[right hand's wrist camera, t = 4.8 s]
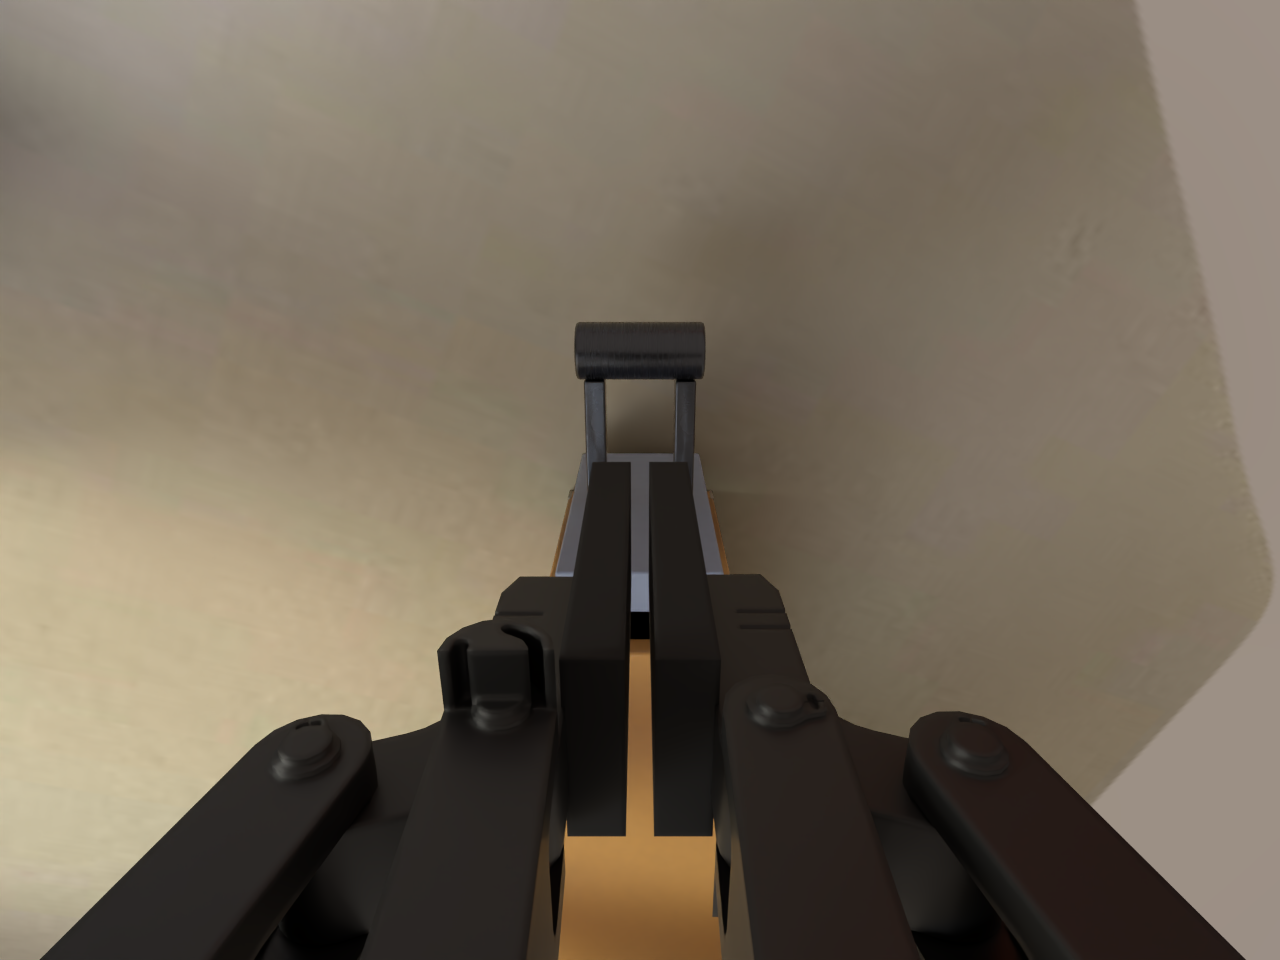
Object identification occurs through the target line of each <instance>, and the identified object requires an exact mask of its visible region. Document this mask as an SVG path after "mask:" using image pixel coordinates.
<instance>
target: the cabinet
mask: <svg viewBox="0 0 1280 960" xmlns="http://www.w3.org/2000/svg"><path fill="white" fill-rule="evenodd" d="M573 494H574V491H573V490H570V492H569V496H568V504H567V508H566V512H565V516H564V520H563V524H562V529H561V533H560V537H559V541H558V545H557V549H556V553H555V558H554V562H553V566H552V570H551V574H550V577H555V572H556V568H557V564H558V559H559V555H560V550H561V546H562V542H563V537H564V533H565V529H566V524H567V520H568V516H569V511H570V507H571V503H572V498H573ZM707 495H708V500H709V505H710V509H711V514H712V519H713V524H714V529H715V534H716V539H717V543H718V548H719V553H720V558H721V563H722V568H723V573H724V574H730V573H729V568H728V563H727V559H726V554H725V550H724V545H723V541H722V536H721V532H720V527H719V523H718V518H717V514H716V509H715V505H714V497H713V493H712V491H707ZM564 853H565V885H564V897H563V909H562V921H561V933H560V945H559V957H558V960H722V956H721V944H720V932H719V920H718V917H712V912H713V892H714V873H715V853H716V834H715V825H714V818H713V837H654V813H653V766H652V720H651V673H650V639H630V674H629V720H628V767H627V814H626V837H567V821H566V829H565V838H564Z"/></svg>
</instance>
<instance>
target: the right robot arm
mask: <svg viewBox="0 0 1280 960" xmlns="http://www.w3.org/2000/svg"><path fill="white" fill-rule="evenodd" d="M649 626H650V673H651V720H652V766H653V813H654V837H713V818H714V825H715V834H716V853H715V873H714V892H713V912H712V917H718V920H719V932H720V944H721V956H722V960H1246V959H1245V958H1244V957H1242V955H1240V953H1238V952H1237V951H1236V950H1235V949H1234V948H1233V947H1232V946H1231V945H1230V944H1229V943H1228V942H1227V941H1226V940H1225V939H1224V938H1223V937H1222V936H1221V935H1220V934H1219V933H1218V932H1217V931H1216V930H1215V929H1214V928H1213V927H1212V926H1211V925H1210V924H1209V923H1208V922H1207V921H1206V920H1205V919H1204V918H1203V917H1202V916H1201V915H1200V914H1199V913H1198V912H1197V911H1196V910H1195V909H1194V908H1193V907H1192V906H1191V905H1190V904H1189V903H1188V902H1187V901H1186V900H1185V899H1184V898H1183V897H1182V896H1181V895H1180V894H1179V893H1178V892H1177V891H1176V890H1175V889H1174V888H1173V887H1172V886H1171V885H1170V884H1169V883H1168V882H1167V881H1166V880H1165V879H1164V878H1163V877H1162V876H1161V875H1160V874H1159V873H1158V872H1157V871H1156V870H1155V869H1154V868H1153V867H1152V866H1151V865H1150V864H1149V863H1148V862H1147V861H1146V860H1145V859H1144V858H1143V857H1142V856H1141V855H1140V854H1139V853H1138V852H1137V851H1136V850H1135V849H1134V848H1133V847H1132V846H1130V845H1129V844H1128V843H1127V842H1126V841H1125V840H1124V839H1123V838H1122V837H1121V836H1120V835H1119V834H1118V833H1117V832H1116V831H1115V830H1114V829H1113V828H1112V827H1111V826H1110V825H1109V824H1108V823H1107V822H1106V821H1105V820H1104V819H1103V818H1102V817H1101V816H1100V815H1099V814H1098V813H1097V812H1096V811H1095V810H1094V809H1093V808H1092V807H1091V806H1090V805H1089V804H1088V803H1087V802H1086V801H1085V800H1084V799H1083V798H1082V797H1081V796H1080V795H1079V794H1078V793H1077V792H1076V791H1075V790H1074V789H1073V788H1072V787H1071V786H1070V785H1069V784H1068V783H1067V782H1066V781H1065V780H1064V779H1063V778H1062V777H1061V776H1060V775H1059V774H1058V773H1057V772H1056V771H1055V770H1054V769H1053V768H1052V767H1051V766H1050V765H1049V764H1048V763H1047V762H1046V761H1045V760H1044V759H1043V758H1042V757H1041V756H1040V755H1039V754H1038V753H1037V752H1036V751H1035V750H1034V749H1033V748H1032V747H1031V746H1030V745H1029V744H1028V743H1027V742H1025V741H1024V740H1023V739H1021V738H1020V737H1019V736H1018V735H1016V734H1015V733H1014V732H1012V731H1011V730H1010V729H1008V728H1007V727H1005V726H1003V725H1001V724H998V723H996V722H994V721H992V720H989V719H987V718H985V717H982V716H978V715H973V714H969V713H964V712H960V711H950V712H935V713H932V714H929V715H926V716H924V717H921V718H920V719H919V720H918V721H917V722H916V723H915V724H914V725H913V726H912V727H911V728H910V733H909V739H908V738H904V737H900V736H895V735H891V734H886V733H882V732H877V731H873V730H870V729H867V728H863V727H860V726H857V725H854V724H852V723H850V722H848V721H846V720H844V719H842V718H840V717H838V715H837V712H836V709H835V708H834V706H833V704H832V703H831V701H830V700H829V698H828V697H827V695H825V694H824V693H823V692H821V691H820V690H819V689H817V688H816V687H814V686H813V685H812V684H810V681H809V678H808V676H807V673H806V670H805V667H804V664H803V661H802V658H801V655H800V652H799V649H798V646H797V643H796V640H795V637H794V635H793V632H792V629H790V623H789V620H788V617H787V614H786V613H785V608H784V605H783V602H782V599H781V596H780V593H779V591H778V590H777V589H776V588H775V587H774V586H773V585H772V584H770V583H769V582H768V581H767V580H766V579H765V578H764V577H763V576H761V575H760V574H706V568H705V562H704V556H703V550H702V544H701V538H700V533H699V527H698V521H697V515H696V509H695V503H694V497H693V492H692V486H691V480H690V474H689V468H688V462H649ZM630 627H631V462H592V468H591V474H590V480H589V486H588V492H587V498H586V503H585V509H584V515H583V521H582V527H581V533H580V539H579V544H578V550H577V556H576V562H575V568H574V574H573V577H519V578H518V579H517V580H516V581H514V582H513V583H512V584H511V585H510V586H509V587H508V588H507V589H506V590H504V591H503V592H502V593H501V596H500V599H499V602H498V605H497V608H496V611H495V616H494V617H493V620H487V621H481V622H478V623H476V624H473V625H470V626H467V627H464V628H462V629H460V630H459V631H457V632H455V633H454V634H452V635H451V636H449V637H448V638H446V640H445V641H444V642H443V644H442V645H441V646H440V648H439V649H438V651H437V654H438V662H439V671H440V679H441V687H442V695H443V704H444V713H443V716H442V719H441V720H440V721H438V722H436V723H434V724H432V725H430V726H428V727H426V728H423V729H420V730H417V731H413V732H410V733H407V734H402V735H398V736H394V737H389V738H385V739H380V740H376V741H372V739H371V733H370V731H369V730H368V729H367V728H366V727H365V725H364V724H363V723H362V722H361V721H360V720H357V719H354V718H351V717H348V716H345V715H326V714H321V715H317V716H312V717H308V718H303V719H299V720H296V721H294V722H291V723H289V724H287V725H285V726H283V727H280V728H278V729H276V730H274V731H273V732H271V733H270V734H269V735H267V736H266V737H265V738H263V739H262V740H261V741H260V742H258V743H257V744H256V745H254V746H253V747H252V748H251V749H250V750H249V751H248V752H247V753H246V754H245V755H244V756H243V757H242V758H241V759H240V760H239V761H238V762H237V763H236V764H235V765H234V766H233V767H232V768H231V769H230V770H229V771H228V772H227V773H226V774H225V775H224V776H223V777H222V778H221V779H220V780H219V781H218V782H217V783H216V784H215V785H214V786H213V787H212V788H211V789H210V790H209V791H208V792H207V793H206V794H205V795H204V796H203V797H202V798H201V799H200V800H199V801H198V802H197V803H196V804H195V805H194V806H193V807H192V808H191V809H190V810H189V811H188V812H187V813H186V814H185V815H184V816H183V817H182V818H181V819H180V820H179V821H178V822H177V823H176V824H175V825H174V826H173V827H172V828H171V829H170V830H169V831H168V832H167V833H166V834H165V835H164V836H163V837H162V838H161V839H160V840H159V841H158V842H157V843H156V844H155V845H154V846H153V847H152V848H151V849H150V850H149V851H148V852H147V853H146V854H145V855H144V856H143V857H142V858H141V859H140V860H139V861H138V862H137V863H136V864H135V865H134V866H133V867H132V868H131V869H130V870H129V871H128V872H127V873H126V874H125V875H124V876H123V877H122V878H121V879H120V880H119V881H118V882H117V883H116V884H115V885H114V886H113V887H112V888H111V889H110V890H109V891H108V892H107V893H106V894H105V895H104V896H103V897H102V898H101V899H100V900H99V901H98V902H97V903H96V904H95V905H94V906H93V907H92V908H91V909H90V910H89V911H88V912H87V913H86V914H85V915H84V916H83V917H82V918H81V919H80V920H79V921H78V922H77V923H76V924H75V925H74V926H73V927H72V928H71V929H70V930H69V931H68V932H67V933H66V934H65V935H64V936H63V937H62V938H61V939H60V940H59V941H58V942H57V943H56V944H55V945H54V946H53V947H52V948H51V949H50V950H49V951H48V952H47V953H46V954H45V955H44V956H43V957H42V958H41V959H40V960H558V957H559V945H560V933H561V921H562V909H563V897H564V885H565V853H564V838H565V829H566V821H567V837H626V814H627V767H628V720H629V674H630Z"/></svg>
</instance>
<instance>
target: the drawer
mask: <svg viewBox="0 0 1280 960" xmlns="http://www.w3.org/2000/svg"><path fill="white" fill-rule="evenodd" d="M705 352H706V341H705V326H704V324H703V323H702V322H578V323H577V324H576V327H575V340H574V354H575V370H576V376H577V378H578V379H585V381H584V398H585V432H586V453H584V454H583V455H582V459H581V463H580V468H579V472H578V476H577V481H576V485H575V489H574V494H573V498H572V503H571V507H570V511H569V516H568V520H567V524H566V529H565V533H564V537H563V542H562V546H561V550H560V555H559V559H558V564H557V568H556V572H555V577H573V574H574V568H575V562H576V556H577V550H578V544H579V539H580V533H581V527H582V521H583V515H584V509H585V503H586V498H587V492H588V486H589V480H590V474H591V468H592V462H631V627H630V639H650V626H649V462H688V468H689V474H690V480H691V486H692V492H693V497H694V503H695V509H696V515H697V521H698V527H699V533H700V538H701V544H702V550H703V556H704V562H705V568H706V574H724V573H723V568H722V563H721V558H720V553H719V548H718V543H717V539H716V534H715V529H714V524H713V519H712V514H711V509H710V505H709V500H708V495H707V490H706V485H705V480H704V475H703V471H702V466H701V461H700V456H699V454H697V453H694V440H695V404H696V381H695V379H702V378H703V376H704V371H705ZM606 379H674V437H673V453H607V414H606Z"/></svg>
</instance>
